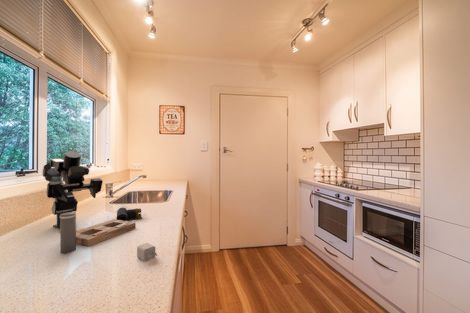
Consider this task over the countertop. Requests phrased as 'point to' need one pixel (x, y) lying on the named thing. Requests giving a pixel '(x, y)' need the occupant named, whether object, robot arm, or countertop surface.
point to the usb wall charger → (146, 252)
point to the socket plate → (102, 231)
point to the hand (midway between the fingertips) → (81, 198)
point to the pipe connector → (128, 214)
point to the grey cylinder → (68, 232)
